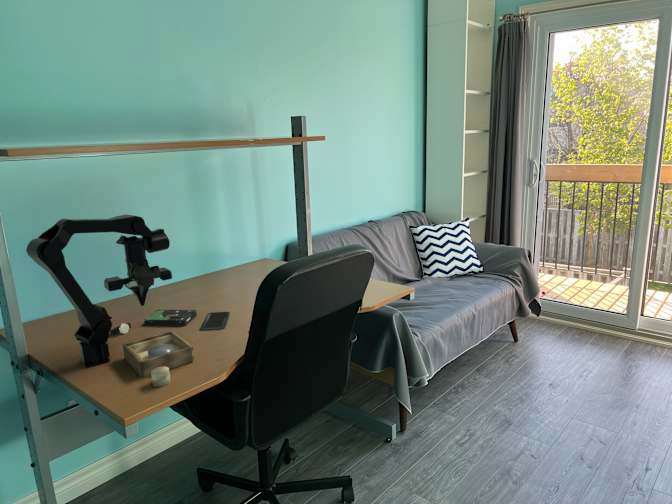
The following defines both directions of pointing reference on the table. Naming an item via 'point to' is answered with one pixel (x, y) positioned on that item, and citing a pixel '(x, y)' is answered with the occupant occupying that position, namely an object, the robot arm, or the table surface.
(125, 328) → the watch
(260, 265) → the table surface
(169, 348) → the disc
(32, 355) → the table surface
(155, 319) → the disk drive
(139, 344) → the tray
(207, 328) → the phone
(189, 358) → the housing
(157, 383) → the stand
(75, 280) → the robot arm
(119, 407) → the table surface
